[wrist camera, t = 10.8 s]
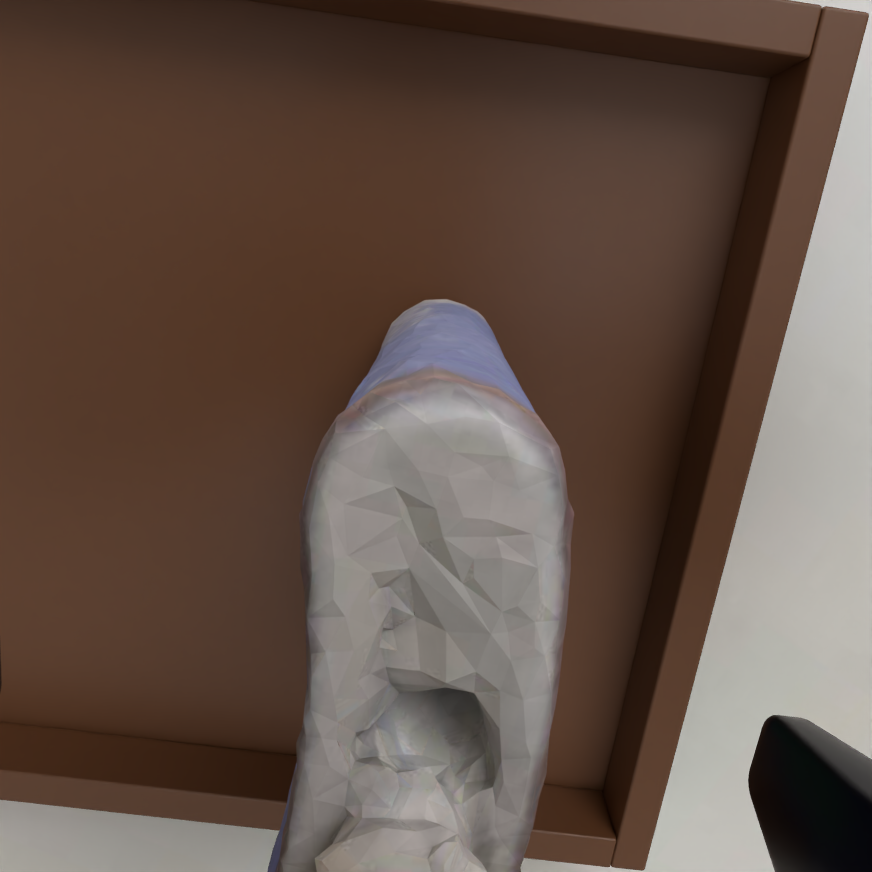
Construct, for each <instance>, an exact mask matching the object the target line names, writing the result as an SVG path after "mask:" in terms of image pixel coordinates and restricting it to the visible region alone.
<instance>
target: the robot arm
mask: <svg viewBox="0 0 872 872" xmlns="http://www.w3.org/2000/svg"><path fill="white" fill-rule="evenodd" d="M1 684H2V681H1V647H0V692H1ZM748 782H749V791H750V796H751V799H752V802H753V805H754V808H755V811H756V814H757V818H758V821H759V824H760V827H761V830H762V833H763V836H764V839H765V842H766V845H767V848H768V851H769V855H770V858H771V861H772V864H773V867H774V870H775V872H872V759H870V758H868V757H867V756H865V755H864V754H862V753H860V752H859V751H857V750H855V749H854V748H852V747H851V746H849V745H847V744H846V743H844V742H843V741H841V740H839V739H838V738H836V737H835V736H833V735H831V734H830V733H828V732H826V731H825V730H823V729H822V728H820V727H818V726H817V725H815V724H814V723H812V722H810V721H808V720H806V719H803V718H798V717H789V716H780V715H773V716H771V717H769V718H767V720H766V721H765V722H764V725H763V727H762V730H761V734H760V737H759V740H758V744H757V747H756V750H755V754H754V757H753V760H752V764H751V767H750V771H749V778H748Z"/></svg>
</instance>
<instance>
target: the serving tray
mask: <svg viewBox="0 0 872 872" xmlns="http://www.w3.org/2000/svg"><path fill="white" fill-rule="evenodd" d="M868 17H869V14H868V13H866V12H860V11H853V10H847V9H840V8H834V7H827V6H826V7H823V8H821V6H820V5H815V4H809V3H802V2H796V1H789V0H0V647H1V681H2V684H1V692H0V800H9V801H18V802H27V803H36V804H45V805H54V806H63V807H72V808H81V809H90V810H99V811H108V812H117V813H126V814H135V815H144V816H153V817H162V818H171V819H180V820H189V821H198V822H207V823H216V824H225V825H234V826H243V827H252V828H261V829H270V830H279V831H280V827H281V824H282V820H283V816H284V812H285V809H286V805H287V800H288V795H289V789H290V786H291V782H292V778H293V774H294V770H295V767H296V763H297V753H296V742H297V740H298V737H299V734H300V732H301V729H302V725H303V715H304V706H305V696H306V687H307V660H306V623H305V597H304V585H303V580H302V575H301V569H300V522H299V513H300V511H301V509H302V507H303V499H304V495H305V491H306V487H307V483H308V480H309V476H310V472H311V468H312V464H313V460H314V458H315V455H316V453H317V451H318V448H319V446H320V443H321V441H322V439H323V437H324V436H325V434H326V433H327V431H328V430H329V428H330V426H331V425H332V423H333V422H334V420H335V419H336V417H337V416H338V415H339V414H340V413H342V412H343V411H344V410H345V409H346V407H347V405H348V403H349V401H350V399H351V397H352V395H353V393H354V392H355V390H356V389H357V387H358V386H359V385H360V384H361V382H362V381H363V379H364V378H365V377H366V376H367V374H368V372H369V371H370V369H371V367H372V365H373V363H374V362H375V360H376V359H377V356H378V354H379V352H380V350H381V346H382V343H383V341H384V339H385V336H386V334H387V332H388V330H389V328H390V326H391V324H392V322H393V321H395V320H396V319H397V318H398V317H399V316H400V315H401V314H402V313H403V312H404V311H405V310H407V309H409V308H411V307H413V306H415V305H416V304H418V303H420V302H422V301H424V300H433V299H448V300H451V301H455V302H458V303H461V304H464V305H466V306H468V307H470V308H472V309H474V310H476V311H478V312H479V313H480V314H481V315H482V316H483V317H484V319H485V320H486V322H487V323H488V325H489V326H490V328H491V329H492V331H493V333H494V335H495V338H496V340H497V342H498V344H499V346H500V348H501V351H502V353H503V355H504V358H505V359H506V361H507V362H508V364H509V366H510V368H511V369H512V371H513V373H514V375H515V377H516V378H517V380H518V382H519V384H520V386H521V388H522V390H523V392H524V393H525V395H526V396H527V398H528V400H529V401H530V403H531V405H532V407H533V409H534V411H535V413H536V414H537V415H538V416H539V418H540V419H541V421H542V422H543V423H544V425H545V426H546V428H547V429H548V431H549V432H550V433H551V435H552V436H553V438H554V439H555V441H556V443H557V444H558V446H559V448H560V452H561V456H562V460H563V464H564V468H565V474H566V485H567V495H568V500H569V502H570V504H571V506H572V509H573V511H574V520H573V529H572V538H571V571H570V584H569V597H568V610H567V622H566V629H565V635H564V641H563V651H562V661H561V671H560V679H559V686H558V693H557V700H556V707H555V711H554V716H553V720H552V725H551V729H550V737H549V748H548V760H547V773H546V777H545V780H544V783H543V787H542V790H541V793H540V796H539V801H538V806H537V811H536V815H535V820H534V825H533V829H532V831H531V834H530V840H529V843H528V846H527V849H526V852H525V855H524V858H530V859H539V860H548V861H557V862H566V863H575V864H584V865H593V866H602V867H610V865H611V866H612V867H615V868H624V869H633V870H644V869H645V866H646V862H647V858H648V854H649V850H650V847H651V843H652V839H653V835H654V831H655V827H656V824H657V820H658V816H659V812H660V808H661V805H662V801H663V797H664V793H665V789H666V786H667V782H668V778H669V774H670V770H671V767H672V763H673V759H674V755H675V751H676V748H677V744H678V740H679V736H680V732H681V729H682V725H683V721H684V717H685V713H686V710H687V706H688V702H689V698H690V694H691V691H692V687H693V683H694V679H695V675H696V672H697V668H698V664H699V660H700V656H701V653H702V649H703V645H704V641H705V637H706V634H707V630H708V626H709V622H710V618H711V615H712V611H713V607H714V603H715V599H716V596H717V592H718V588H719V584H720V580H721V576H722V573H723V569H724V565H725V561H726V557H727V554H728V550H729V546H730V542H731V538H732V535H733V531H734V527H735V523H736V519H737V516H738V512H739V508H740V504H741V500H742V497H743V493H744V489H745V485H746V481H747V478H748V474H749V470H750V466H751V462H752V459H753V455H754V451H755V447H756V443H757V440H758V436H759V432H760V428H761V424H762V421H763V417H764V413H765V409H766V405H767V402H768V398H769V394H770V390H771V386H772V383H773V379H774V375H775V371H776V367H777V364H778V360H779V356H780V352H781V348H782V344H783V341H784V337H785V333H786V329H787V325H788V322H789V318H790V314H791V310H792V306H793V303H794V299H795V295H796V291H797V287H798V284H799V280H800V276H801V272H802V268H803V265H804V261H805V257H806V253H807V249H808V246H809V242H810V238H811V234H812V230H813V227H814V223H815V219H816V215H817V211H818V208H819V204H820V200H821V196H822V192H823V189H824V185H825V181H826V177H827V173H828V170H829V166H830V162H831V158H832V154H833V151H834V147H835V143H836V139H837V135H838V132H839V128H840V124H841V120H842V116H843V113H844V109H845V105H846V101H847V97H848V93H849V90H850V86H851V82H852V78H853V74H854V71H855V67H856V63H857V59H858V55H859V52H860V48H861V44H862V40H863V36H864V33H865V29H866V25H867V21H868Z"/></svg>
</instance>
